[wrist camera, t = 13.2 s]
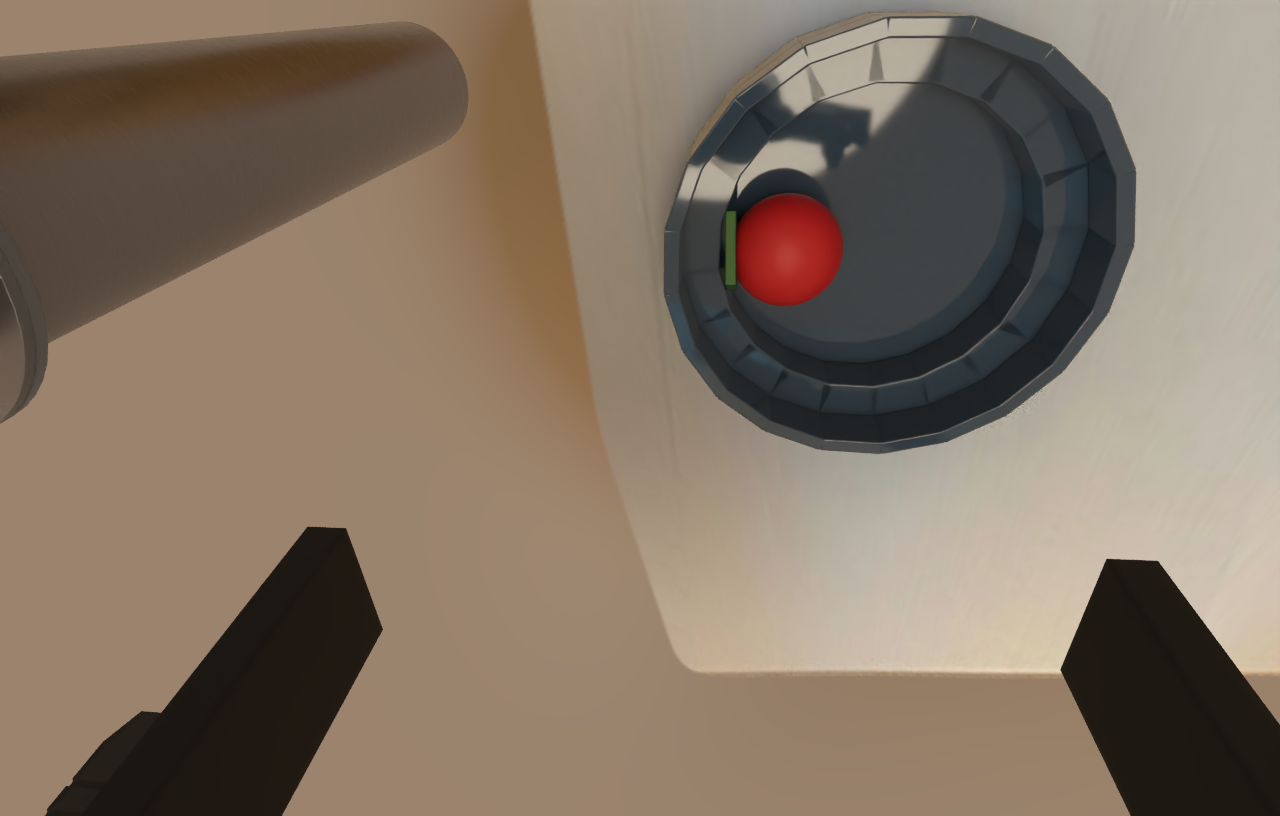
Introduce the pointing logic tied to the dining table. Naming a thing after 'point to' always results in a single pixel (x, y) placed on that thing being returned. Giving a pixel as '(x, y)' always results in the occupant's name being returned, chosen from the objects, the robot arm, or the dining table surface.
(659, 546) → the dining table surface
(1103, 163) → the bowl
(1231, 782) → the robot arm
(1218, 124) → the dining table surface
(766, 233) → the strawberry
